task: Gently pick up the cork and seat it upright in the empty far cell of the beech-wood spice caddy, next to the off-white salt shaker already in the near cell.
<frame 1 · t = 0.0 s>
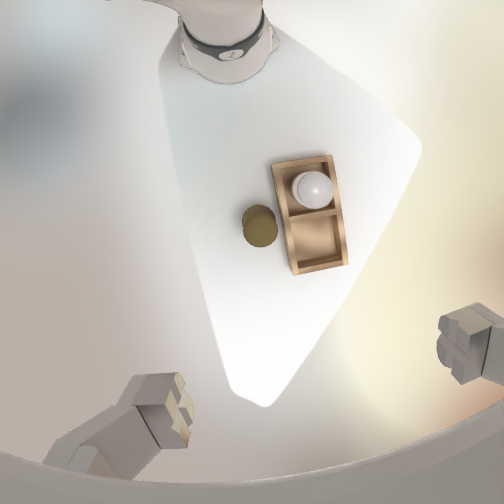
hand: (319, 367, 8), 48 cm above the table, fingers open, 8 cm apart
salt shaker: (304, 188, 53), point 1 cm above the table, touching caddy
caddy: (307, 212, 55), on the table
cork: (258, 221, 56), on the table
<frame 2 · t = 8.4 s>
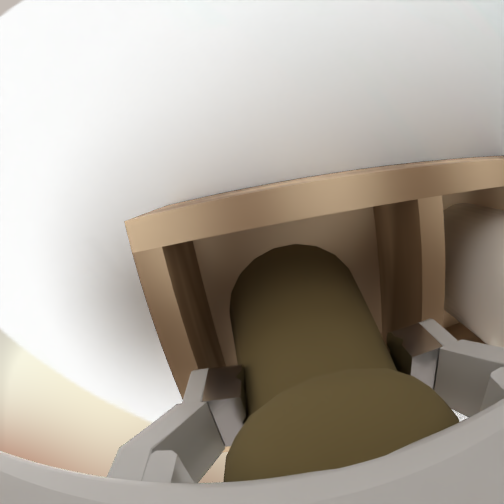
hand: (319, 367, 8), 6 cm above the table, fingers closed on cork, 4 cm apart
salt shaker: (460, 256, 13), point 1 cm above the table, touching caddy
caddy: (382, 269, 14), on the table
cork: (295, 306, 14), point 1 cm above the table, touching caddy, gripper
when the fingers open (6 cm above the table, at t = 9.3 s): cork stays where it is, resting on caddy.
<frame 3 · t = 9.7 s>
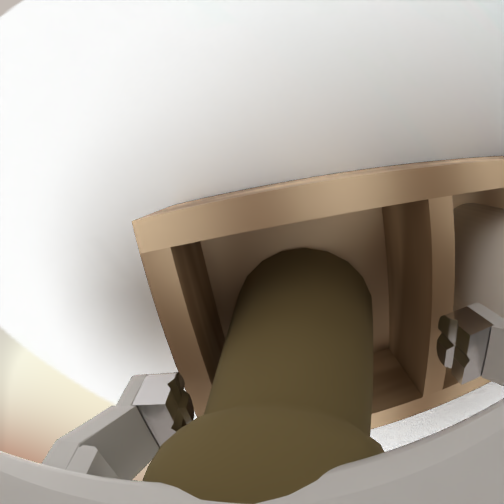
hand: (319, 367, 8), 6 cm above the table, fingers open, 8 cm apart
salt shaker: (468, 256, 13), point 1 cm above the table, touching caddy, gripper
caddy: (390, 270, 14), on the table
cork: (304, 313, 13), point 1 cm above the table, touching caddy, gripper
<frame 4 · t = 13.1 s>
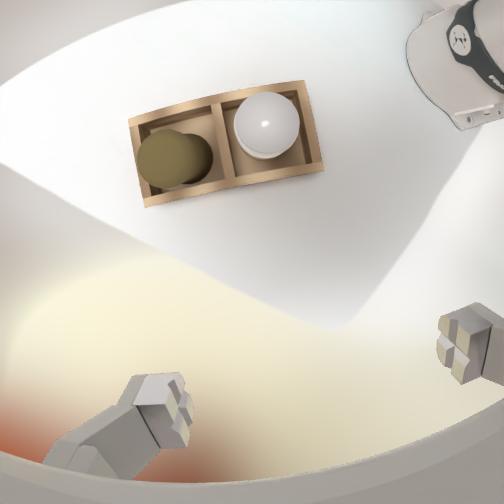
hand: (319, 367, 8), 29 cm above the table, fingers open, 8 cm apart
salt shaker: (262, 137, 34), point 1 cm above the table, touching caddy
caddy: (226, 145, 35), on the table
cork: (187, 158, 34), point 1 cm above the table, touching caddy
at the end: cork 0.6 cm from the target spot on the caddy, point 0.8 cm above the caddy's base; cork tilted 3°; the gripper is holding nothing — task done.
